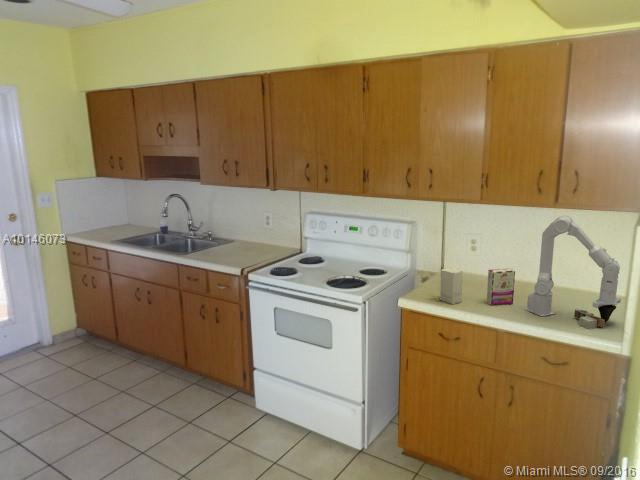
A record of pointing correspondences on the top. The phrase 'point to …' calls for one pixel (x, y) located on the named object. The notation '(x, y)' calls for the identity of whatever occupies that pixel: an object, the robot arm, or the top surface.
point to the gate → (599, 321)
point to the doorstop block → (587, 322)
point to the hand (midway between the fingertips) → (604, 321)
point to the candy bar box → (500, 286)
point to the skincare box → (451, 285)
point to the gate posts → (583, 315)
